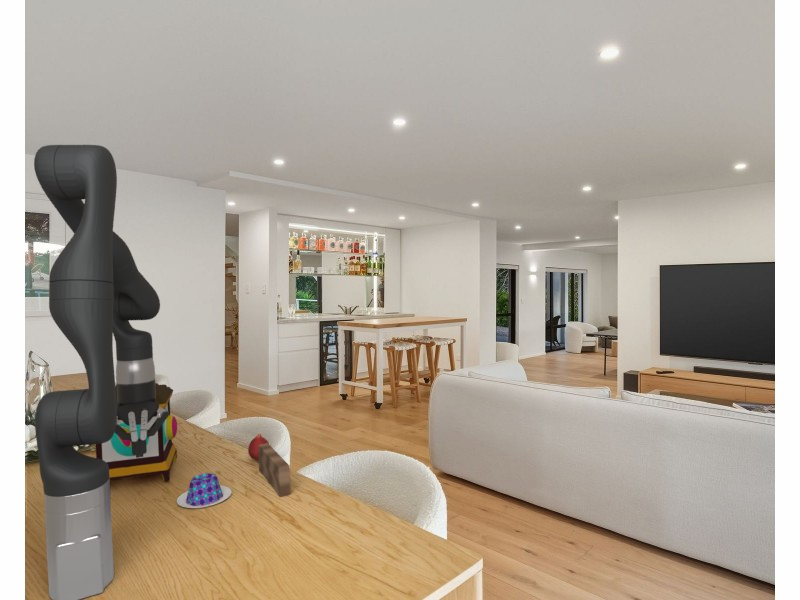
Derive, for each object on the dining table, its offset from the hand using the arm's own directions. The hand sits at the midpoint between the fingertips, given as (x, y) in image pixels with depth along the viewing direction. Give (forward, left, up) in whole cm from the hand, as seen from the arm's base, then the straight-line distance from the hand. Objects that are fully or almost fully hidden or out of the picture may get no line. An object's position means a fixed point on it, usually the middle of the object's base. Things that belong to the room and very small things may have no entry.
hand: (139, 456), depth 108 cm
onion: (+16, -30, -13) cm, 36 cm away
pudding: (0, -13, -13) cm, 19 cm away
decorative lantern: (+24, 0, -13) cm, 27 cm away
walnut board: (0, -29, -13) cm, 32 cm away
